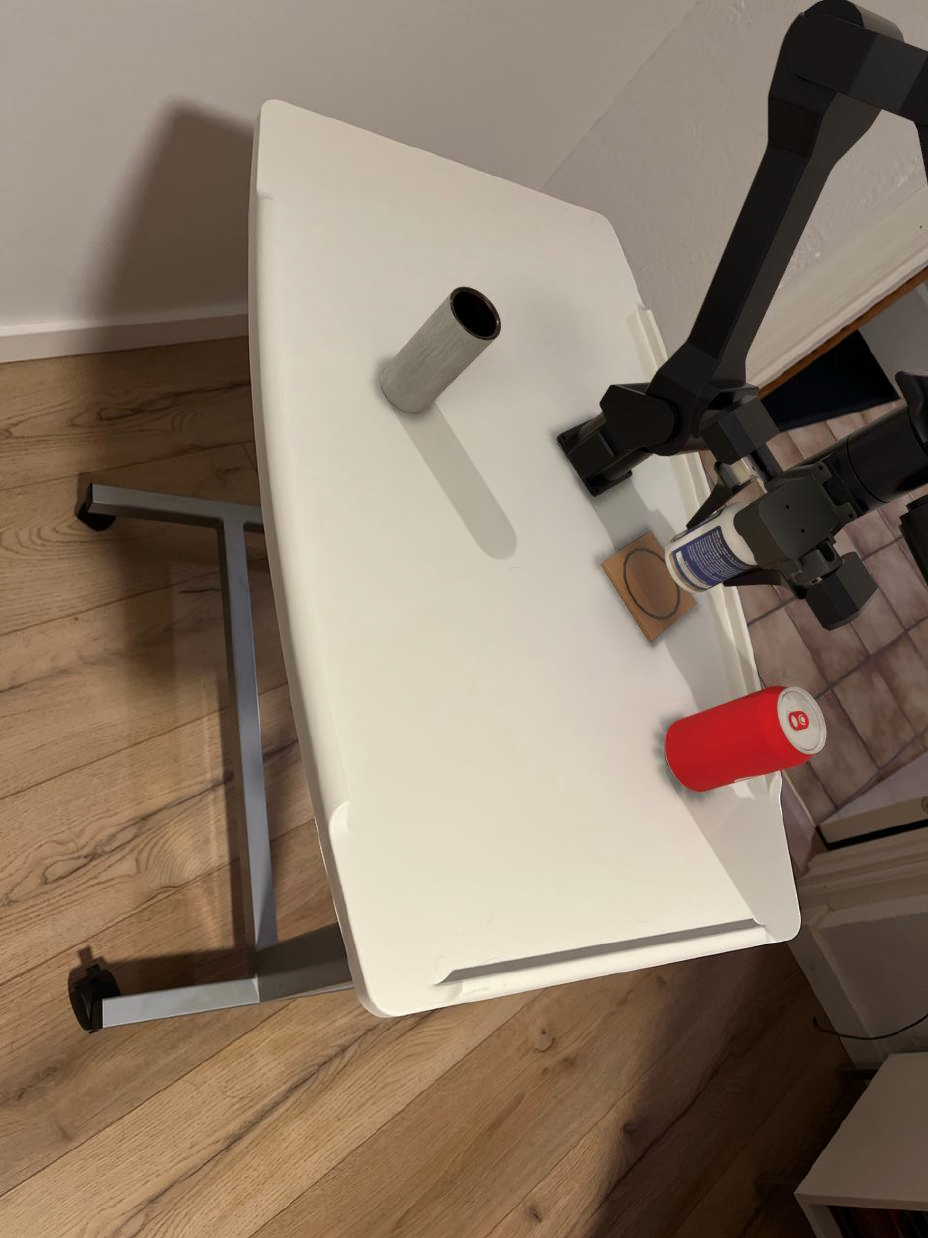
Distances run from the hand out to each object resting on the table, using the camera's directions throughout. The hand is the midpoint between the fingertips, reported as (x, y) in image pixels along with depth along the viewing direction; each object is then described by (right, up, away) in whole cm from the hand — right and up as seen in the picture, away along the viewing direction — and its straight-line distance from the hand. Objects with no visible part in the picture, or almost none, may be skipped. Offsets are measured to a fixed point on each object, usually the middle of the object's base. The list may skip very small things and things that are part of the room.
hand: (706, 554), depth 76 cm
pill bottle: (-1, -1, +2) cm, 3 cm away
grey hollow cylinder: (-25, +13, -3) cm, 29 cm away
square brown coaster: (-4, -2, +5) cm, 7 cm away
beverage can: (-2, -17, 0) cm, 17 cm away
